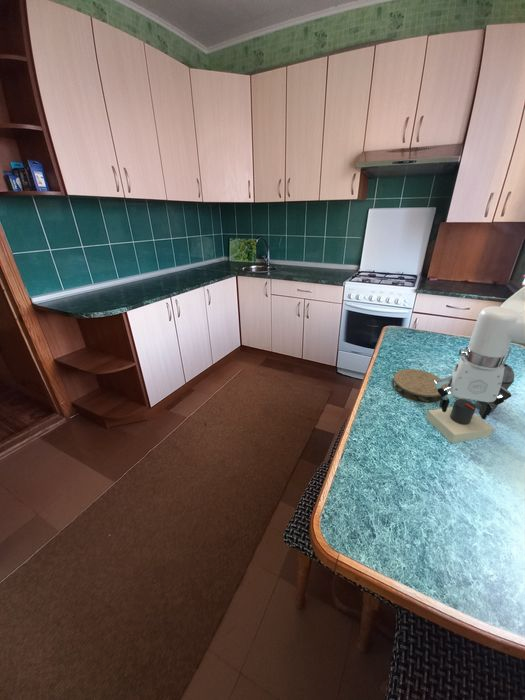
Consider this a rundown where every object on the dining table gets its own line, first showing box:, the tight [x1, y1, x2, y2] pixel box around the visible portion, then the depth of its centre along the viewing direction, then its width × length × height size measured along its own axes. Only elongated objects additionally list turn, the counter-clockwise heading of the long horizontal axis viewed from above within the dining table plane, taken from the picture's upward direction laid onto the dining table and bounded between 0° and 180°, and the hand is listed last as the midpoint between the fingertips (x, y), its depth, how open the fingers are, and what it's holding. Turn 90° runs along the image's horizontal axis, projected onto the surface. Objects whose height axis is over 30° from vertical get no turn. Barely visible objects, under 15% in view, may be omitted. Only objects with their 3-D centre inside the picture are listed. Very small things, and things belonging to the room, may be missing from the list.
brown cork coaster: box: [391, 368, 447, 404], centre depth 97 cm, size 16×16×3 cm
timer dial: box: [450, 398, 477, 425], centre depth 79 cm, size 5×5×5 cm
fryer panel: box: [425, 406, 495, 444], centre depth 81 cm, size 12×10×3 cm
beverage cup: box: [475, 348, 515, 414], centre depth 84 cm, size 7×7×20 cm
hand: (462, 412), depth 79 cm, fingers open, 8 cm apart
